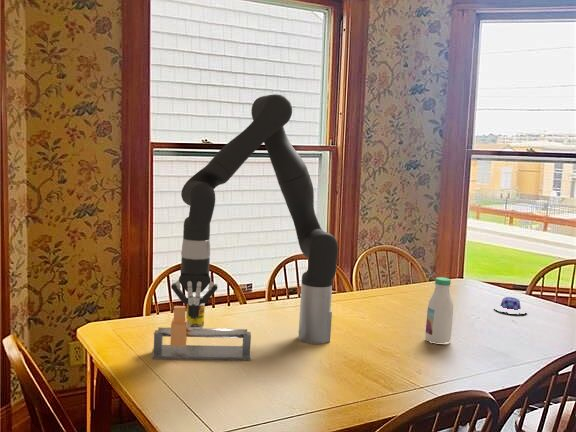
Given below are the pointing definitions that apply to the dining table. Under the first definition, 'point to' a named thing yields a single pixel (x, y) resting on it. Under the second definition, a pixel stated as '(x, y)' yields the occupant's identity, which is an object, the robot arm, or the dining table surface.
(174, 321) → the collar
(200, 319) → the supplement bottle
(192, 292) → the robot arm
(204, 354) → the pipe stand
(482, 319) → the dining table surface
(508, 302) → the pudding
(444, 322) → the milk bottle
